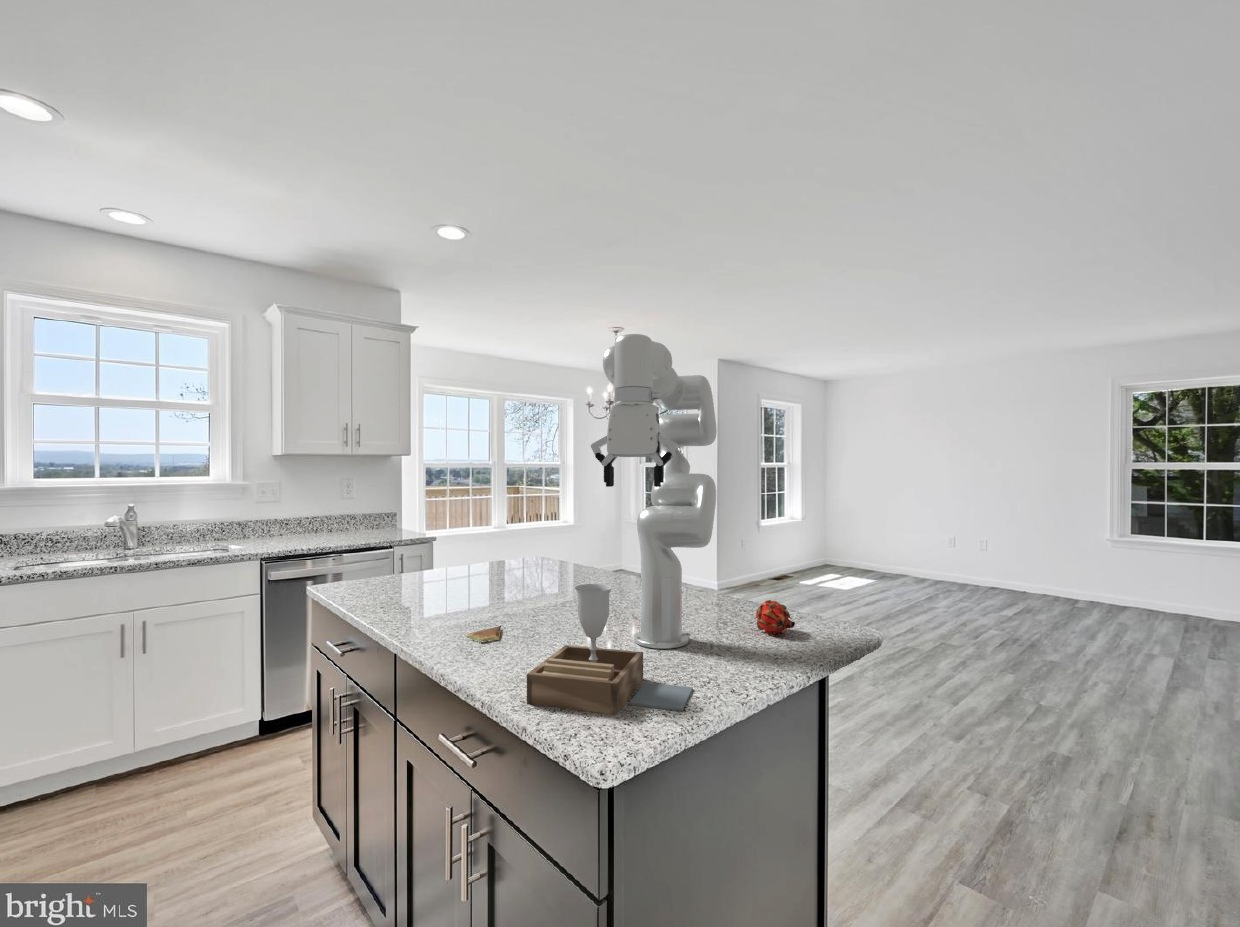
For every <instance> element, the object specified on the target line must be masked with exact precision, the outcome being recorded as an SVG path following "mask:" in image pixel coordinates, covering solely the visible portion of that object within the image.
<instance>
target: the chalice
mask: <svg viewBox="0 0 1240 927" xmlns="http://www.w3.org/2000/svg"><path fill="white" fill-rule="evenodd" d="M612 588H613V587H612V586H611V585H609V584H602V583H584V584H579V585H576V586H575V587H574V589H575V591H576V593H577V616H578V619H579V623H580V625H581V627H582V630H583V632H584V634H585V636H586V637H587V638H589V639H590V648H589V649H590V651H591V656H590V658H589V660H590V662H593V663H596V661H597V660H598V658H597V657H596V650H597V649H598V648H599V647H597V642H596V641H597V638H599V637H601V636H602V634H603V632H604V630H605V627H606V625H607V622H608V619H609V616H610V593H611V591H612Z"/></svg>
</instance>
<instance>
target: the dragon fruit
mask: <svg viewBox="0 0 1240 927" xmlns="http://www.w3.org/2000/svg"><path fill="white" fill-rule="evenodd" d="M787 608H788V607H787V606H786V605H785V604H782V603H779V602H778V601H777V600H771V599H768V600H765V601H764V602H763V603H762V604H760V605H759V606H758V608H757V609H756V613H755V619H756V626H757V629H758V630H759V631H764V632H765V633H766V634H767V635H768V634H770V635H772V636H771V637H777V634H785V632H787V629H793V628H794V627H795V625H796V622H795V621H794V620H793V618H792V617H791V614H790V612H789V611H788V610H787ZM792 620H793V621H792ZM775 634H776V635H775ZM770 635H769V636H770Z"/></svg>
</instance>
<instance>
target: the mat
mask: <svg viewBox="0 0 1240 927" xmlns="http://www.w3.org/2000/svg"><path fill="white" fill-rule="evenodd" d="M693 690H694V689H693V687H692V686H684V685H675V684H665V683H664V684H663V683H655V682H653V683H652V682H648V681H647V682H643V684H642V685H641V687H639V689H638V691H637V692H636V694H635V695H634V696H633V698H632V699H631V700H630V701H629V706H636V707H644V708H645V707H646V708H653V709H654V708H655V709H662V710H671V711H678V712H679V711H680V712H684V709H685V707H686V704H687V703H688V701H687V700H689V699H690V696H691V694H692V692H693Z"/></svg>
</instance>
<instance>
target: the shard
mask: <svg viewBox="0 0 1240 927" xmlns="http://www.w3.org/2000/svg"><path fill="white" fill-rule="evenodd" d="M501 628H502V625H499V626H495V627H490V628H485V629H482V630H478V631H474V632H471V633H467V634H466V635H465V638H466V637H467V638H470V639H472V640H477V641H480V642H482V641H487V640H499V641H500V636H501V633H502V631H501V630H502V629H501ZM500 632H501V633H500ZM472 640H471V641H472Z"/></svg>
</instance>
